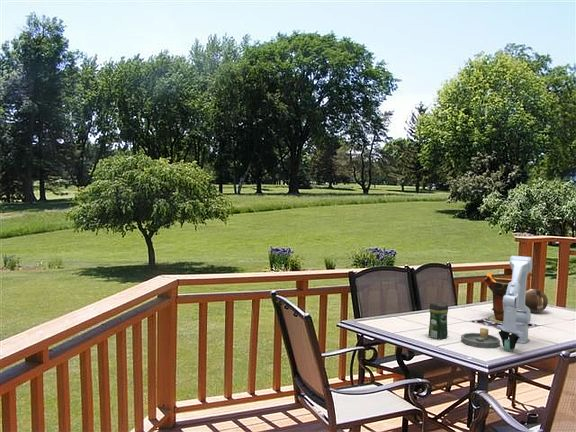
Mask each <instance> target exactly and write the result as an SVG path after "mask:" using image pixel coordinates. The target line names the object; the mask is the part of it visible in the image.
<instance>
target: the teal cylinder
mask: <svg viewBox="0 0 576 432" xmlns="http://www.w3.org/2000/svg"><path fill="white" fill-rule="evenodd" d="M503 348H504V349H503V351H504V352H509V353H511V352H514V349H510V340H509V338H508V339H505V341H504V346H503Z"/></svg>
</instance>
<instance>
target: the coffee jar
mask: <svg viewBox="0 0 576 432" xmlns="http://www.w3.org/2000/svg"><path fill="white" fill-rule="evenodd" d="M428 310H429V314H430V315H429V326H428V327H429V328H428V337H429V338H431V339H435V340H441V339H446V338H447V337H448V335H449V334H448V332H449V331H448V312H449V305H448V302H446V301H445V302H444V301H441V300H440V301H437V302H431V303H429V308H428Z"/></svg>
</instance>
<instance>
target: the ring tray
mask: <svg viewBox="0 0 576 432" xmlns="http://www.w3.org/2000/svg"><path fill="white" fill-rule="evenodd" d="M460 338H461V343H463V344H464V345H467V346H469V347H472V348H473V347H474V348H481V349H494V348H498V347H499V346H500V344H501V340H500V338H499V337H497V336H495V335H493V334H488V340H485V338H483V337H480V332H479V333H478V332H467V333H463V334H461V335H460Z"/></svg>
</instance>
